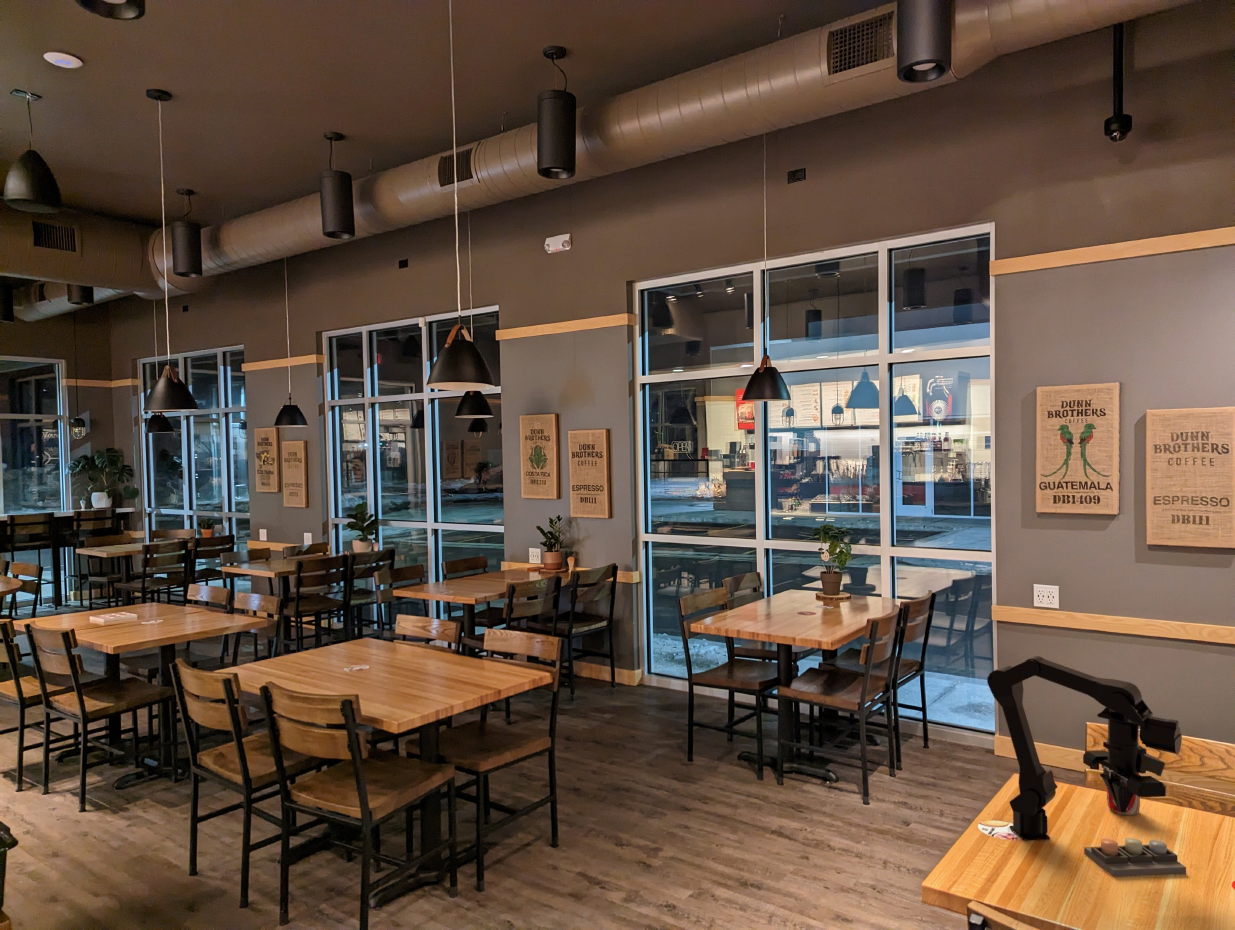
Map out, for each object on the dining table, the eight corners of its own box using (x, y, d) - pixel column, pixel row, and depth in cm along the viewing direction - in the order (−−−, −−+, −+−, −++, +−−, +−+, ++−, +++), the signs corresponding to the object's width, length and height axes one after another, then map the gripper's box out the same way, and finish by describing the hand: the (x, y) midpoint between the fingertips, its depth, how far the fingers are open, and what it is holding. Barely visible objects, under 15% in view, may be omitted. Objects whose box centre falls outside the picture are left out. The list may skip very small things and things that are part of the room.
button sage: (1131, 854, 174) (1131, 844, 174) (1121, 847, 177) (1121, 837, 177) (1145, 854, 174) (1145, 844, 174) (1135, 847, 177) (1135, 837, 177)
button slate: (1156, 857, 174) (1156, 847, 174) (1145, 850, 177) (1145, 840, 177) (1170, 856, 174) (1170, 846, 174) (1159, 849, 178) (1159, 839, 178)
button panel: (1113, 877, 170) (1113, 864, 170) (1084, 853, 180) (1084, 841, 180) (1186, 874, 171) (1186, 861, 171) (1152, 851, 181) (1152, 838, 181)
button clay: (1107, 855, 174) (1107, 845, 174) (1097, 848, 177) (1097, 838, 177) (1121, 855, 174) (1121, 845, 174) (1111, 848, 177) (1111, 838, 177)
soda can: (1146, 817, 198) (1146, 769, 198) (1117, 817, 198) (1117, 769, 198) (1128, 804, 205) (1128, 758, 205) (1101, 805, 205) (1100, 758, 205)
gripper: (1191, 756, 167) (1190, 830, 167) (1127, 725, 185) (1126, 791, 186) (1140, 758, 166) (1139, 832, 166) (1081, 726, 184) (1081, 793, 185)
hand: (1122, 811), depth 176 cm, fingers closed
